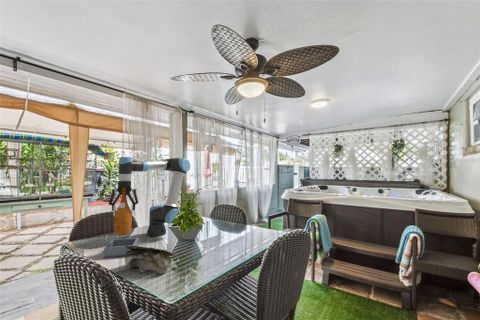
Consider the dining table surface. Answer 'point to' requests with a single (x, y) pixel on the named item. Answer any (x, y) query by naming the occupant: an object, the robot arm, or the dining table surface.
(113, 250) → the crate
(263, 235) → the dining table surface
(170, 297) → the dining table surface
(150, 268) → the hollow geode rock
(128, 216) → the wine bottle
